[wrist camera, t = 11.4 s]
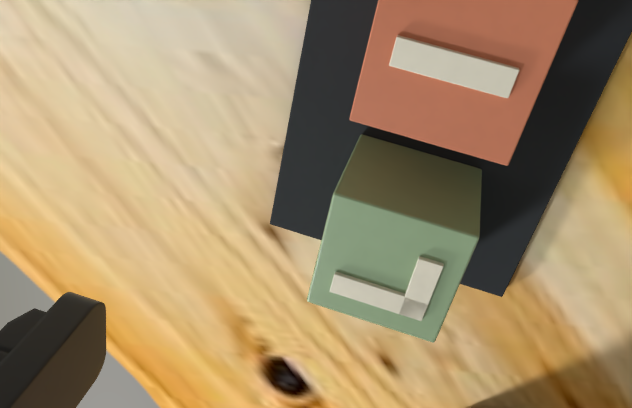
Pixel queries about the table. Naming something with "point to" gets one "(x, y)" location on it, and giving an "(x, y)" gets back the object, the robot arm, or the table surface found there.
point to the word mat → (497, 180)
